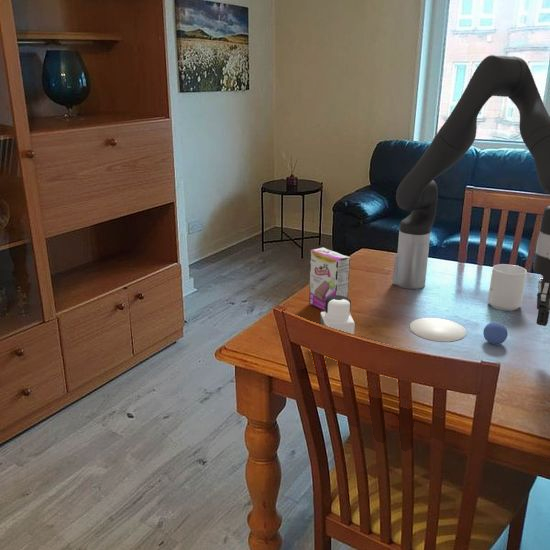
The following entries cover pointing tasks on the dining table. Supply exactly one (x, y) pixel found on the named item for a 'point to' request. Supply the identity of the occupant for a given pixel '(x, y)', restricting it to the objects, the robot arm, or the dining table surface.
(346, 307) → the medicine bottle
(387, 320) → the dining table surface
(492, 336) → the ball
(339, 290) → the candy bar box
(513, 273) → the mug
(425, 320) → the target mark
